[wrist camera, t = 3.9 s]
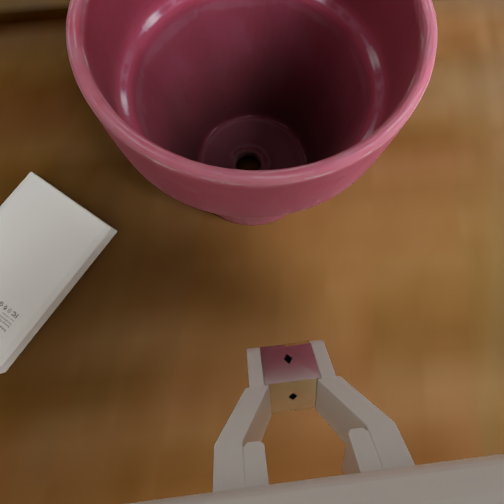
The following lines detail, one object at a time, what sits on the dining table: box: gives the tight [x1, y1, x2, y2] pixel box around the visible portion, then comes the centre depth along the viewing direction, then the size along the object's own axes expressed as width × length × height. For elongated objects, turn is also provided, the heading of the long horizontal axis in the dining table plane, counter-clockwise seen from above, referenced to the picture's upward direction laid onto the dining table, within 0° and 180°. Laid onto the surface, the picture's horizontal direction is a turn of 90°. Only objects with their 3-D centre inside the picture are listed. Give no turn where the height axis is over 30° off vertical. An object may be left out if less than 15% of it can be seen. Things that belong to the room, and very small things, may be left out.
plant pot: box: [66, 0, 437, 225], centre depth 17 cm, size 14×14×13 cm
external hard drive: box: [0, 172, 117, 374], centre depth 22 cm, size 2×8×12 cm
